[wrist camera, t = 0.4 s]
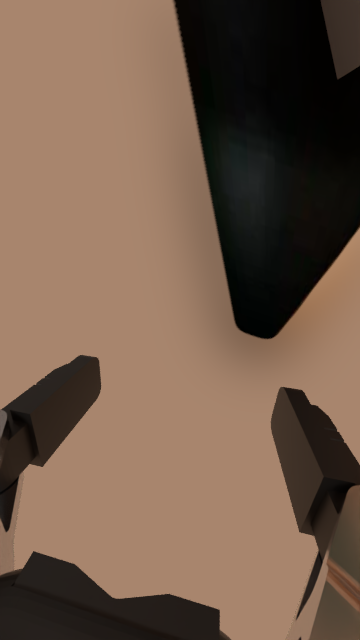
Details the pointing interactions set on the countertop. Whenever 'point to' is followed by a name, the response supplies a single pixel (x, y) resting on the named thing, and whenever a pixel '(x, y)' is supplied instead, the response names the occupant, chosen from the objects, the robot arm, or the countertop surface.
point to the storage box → (343, 33)
